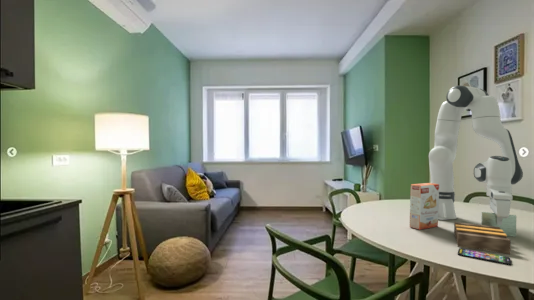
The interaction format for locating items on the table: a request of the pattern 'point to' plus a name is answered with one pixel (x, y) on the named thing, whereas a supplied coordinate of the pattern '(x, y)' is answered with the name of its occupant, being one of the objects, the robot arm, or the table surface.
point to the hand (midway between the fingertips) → (498, 223)
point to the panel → (507, 223)
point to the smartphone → (484, 256)
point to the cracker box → (424, 205)
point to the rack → (481, 237)
